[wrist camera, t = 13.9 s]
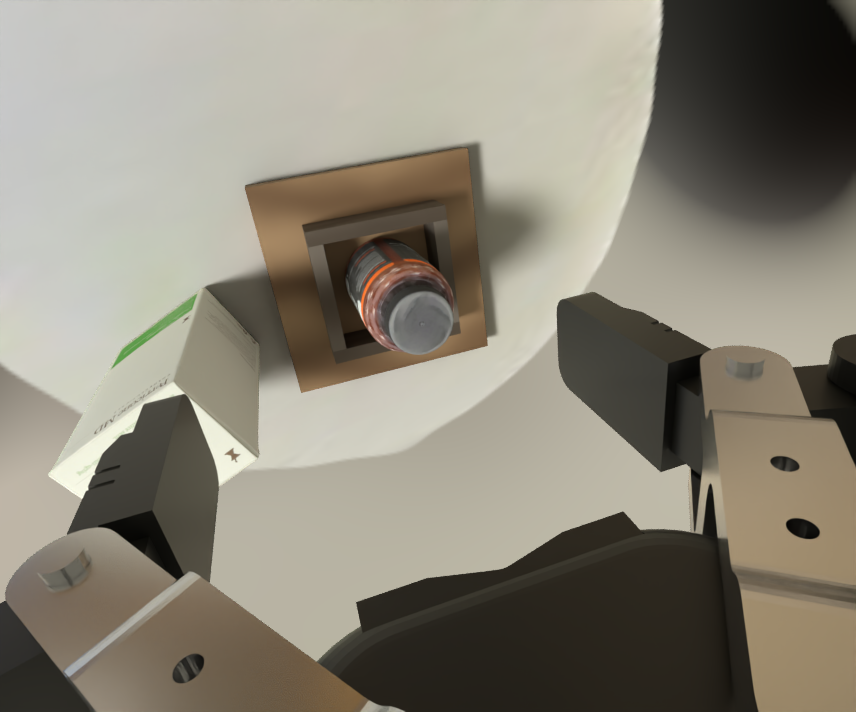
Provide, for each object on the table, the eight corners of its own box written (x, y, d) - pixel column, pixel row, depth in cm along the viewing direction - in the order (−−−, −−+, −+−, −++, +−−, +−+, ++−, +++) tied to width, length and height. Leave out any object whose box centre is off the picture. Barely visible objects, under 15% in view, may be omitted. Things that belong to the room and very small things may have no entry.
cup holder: (245, 185, 38) (243, 193, 34) (461, 147, 41) (482, 150, 37) (300, 384, 45) (304, 410, 41) (481, 339, 48) (501, 359, 44)
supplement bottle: (335, 304, 41) (359, 362, 32) (353, 227, 40) (384, 263, 30) (408, 317, 44) (453, 377, 34) (428, 245, 42) (482, 285, 32)
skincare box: (205, 284, 40) (177, 371, 26) (265, 348, 43) (268, 457, 29) (113, 352, 40) (37, 475, 26) (180, 411, 43) (143, 549, 29)
